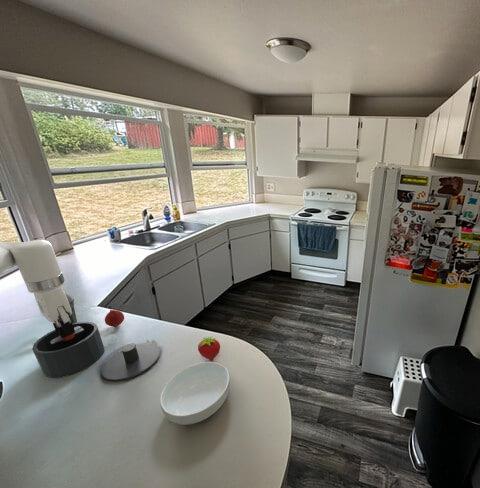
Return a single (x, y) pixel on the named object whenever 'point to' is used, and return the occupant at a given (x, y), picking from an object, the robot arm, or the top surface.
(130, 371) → the lid
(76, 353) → the processor bowl
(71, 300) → the beverage cup
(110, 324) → the onion
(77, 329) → the blade
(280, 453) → the top surface
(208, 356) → the strawberry
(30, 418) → the top surface
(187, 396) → the cereal bowl
